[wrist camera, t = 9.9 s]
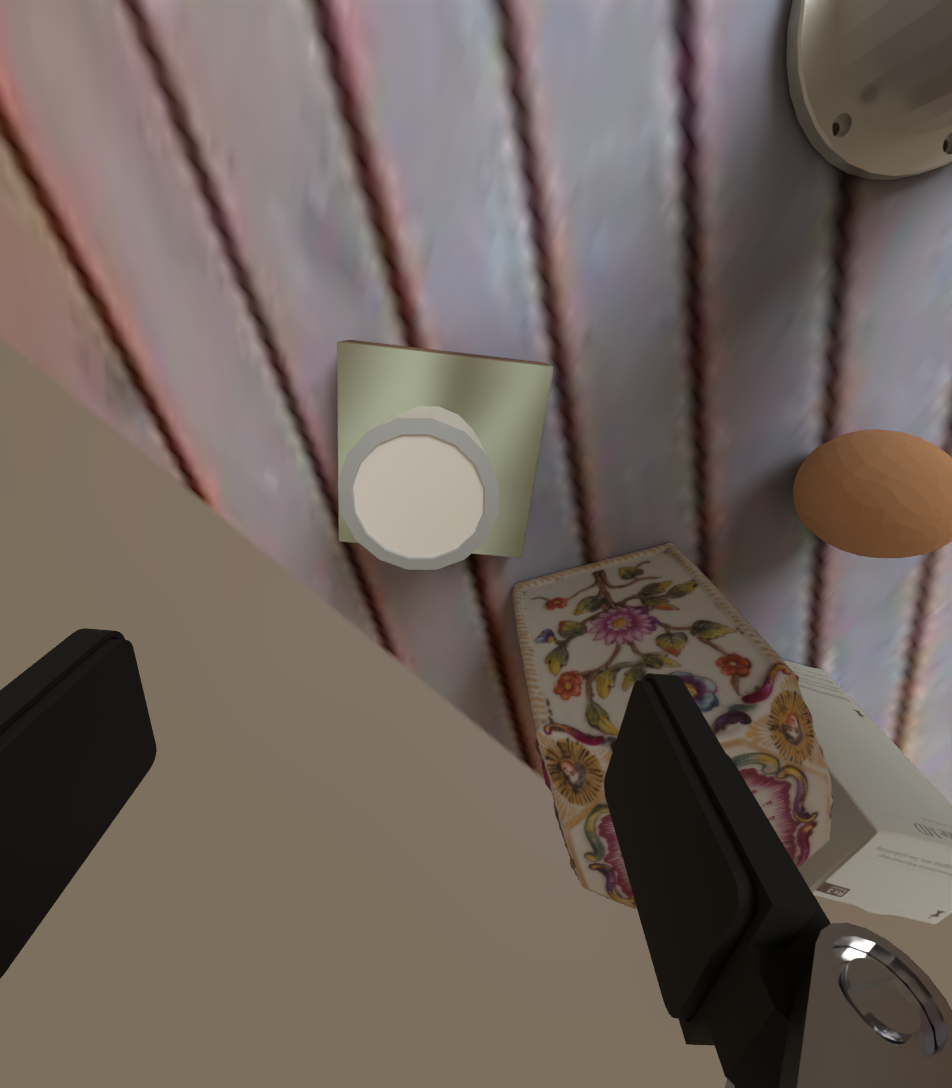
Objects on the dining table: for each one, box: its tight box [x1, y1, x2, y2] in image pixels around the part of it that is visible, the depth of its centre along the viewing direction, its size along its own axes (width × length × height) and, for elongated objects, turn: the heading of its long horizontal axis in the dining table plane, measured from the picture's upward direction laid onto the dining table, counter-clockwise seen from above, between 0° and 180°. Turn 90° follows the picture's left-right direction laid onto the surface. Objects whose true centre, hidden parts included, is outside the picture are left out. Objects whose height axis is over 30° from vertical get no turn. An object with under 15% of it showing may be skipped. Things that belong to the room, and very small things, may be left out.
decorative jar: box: [512, 542, 834, 909], centre depth 27 cm, size 12×12×18 cm
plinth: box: [337, 340, 553, 558], centre depth 28 cm, size 11×11×3 cm
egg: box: [793, 429, 952, 558], centre depth 26 cm, size 7×7×9 cm
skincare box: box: [784, 660, 952, 924], centre depth 31 cm, size 8×6×15 cm
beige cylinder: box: [338, 406, 499, 570], centre depth 23 cm, size 7×7×7 cm
